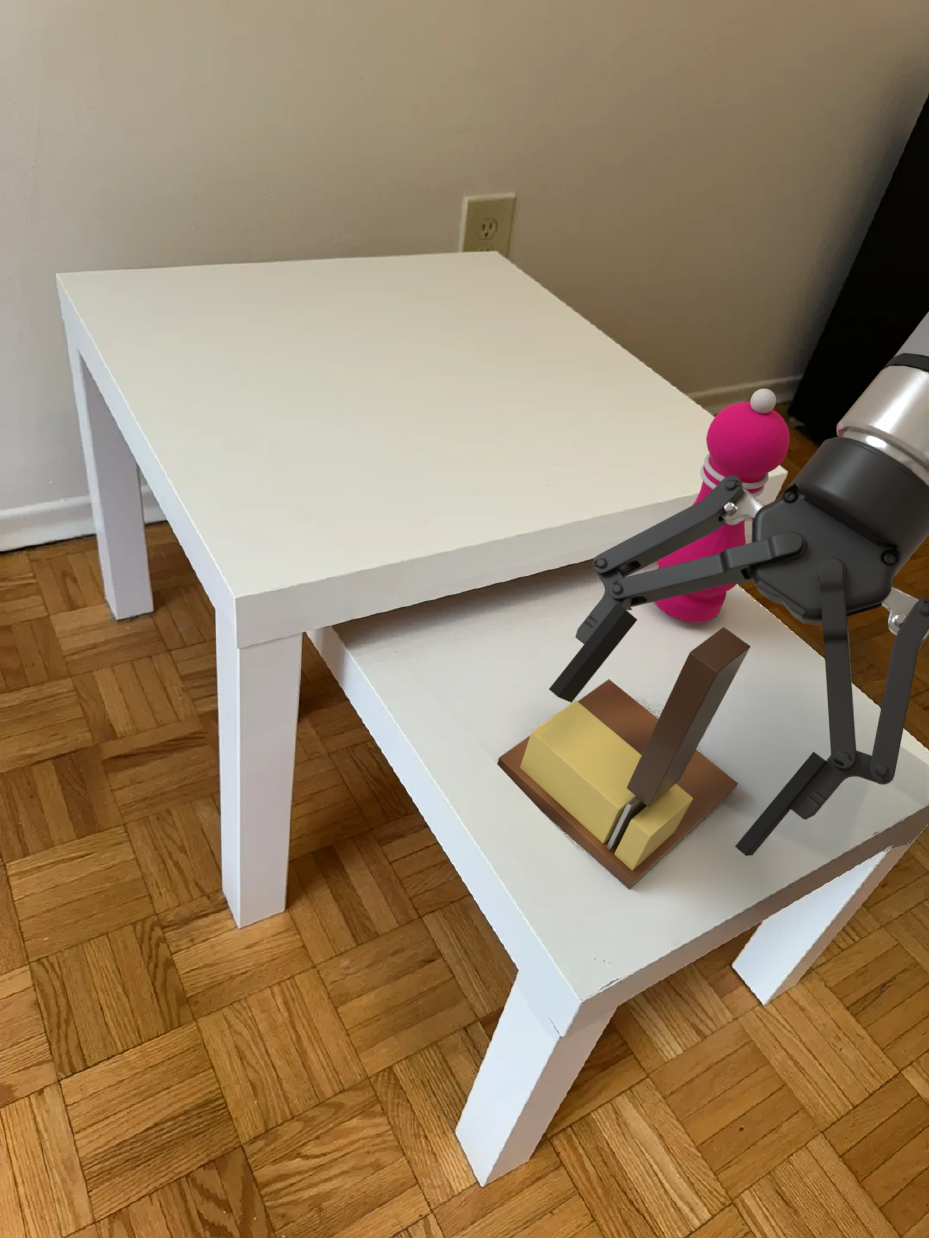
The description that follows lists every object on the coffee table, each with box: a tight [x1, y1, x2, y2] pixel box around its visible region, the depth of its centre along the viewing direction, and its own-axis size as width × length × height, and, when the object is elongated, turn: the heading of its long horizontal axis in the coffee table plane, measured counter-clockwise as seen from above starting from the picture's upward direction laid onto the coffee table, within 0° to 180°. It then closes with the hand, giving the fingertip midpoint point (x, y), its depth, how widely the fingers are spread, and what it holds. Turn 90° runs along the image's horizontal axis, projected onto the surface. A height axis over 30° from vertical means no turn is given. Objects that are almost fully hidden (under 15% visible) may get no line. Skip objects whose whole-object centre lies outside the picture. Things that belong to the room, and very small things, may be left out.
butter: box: [520, 700, 693, 871], centre depth 61 cm, size 10×4×4 cm, turn 44°
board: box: [496, 678, 739, 890], centre depth 65 cm, size 12×12×2 cm
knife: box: [606, 626, 751, 850], centre depth 55 cm, size 2×5×17 cm, turn 134°
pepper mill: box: [653, 388, 791, 623], centre depth 74 cm, size 7×7×20 cm
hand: (646, 769), depth 53 cm, fingers open, 13 cm apart
